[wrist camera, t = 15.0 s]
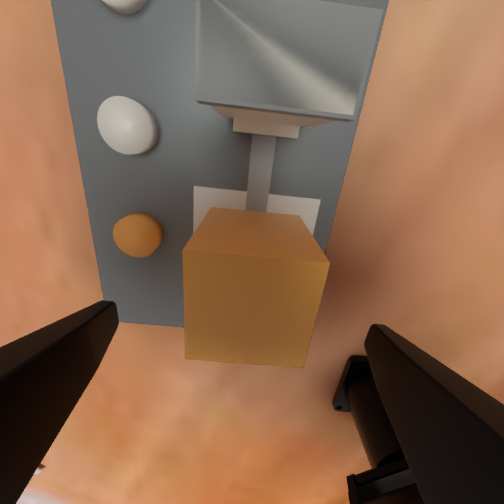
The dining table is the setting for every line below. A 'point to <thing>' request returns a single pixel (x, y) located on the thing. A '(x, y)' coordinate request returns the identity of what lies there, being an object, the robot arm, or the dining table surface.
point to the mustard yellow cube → (251, 288)
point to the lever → (283, 62)
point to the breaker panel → (175, 149)
